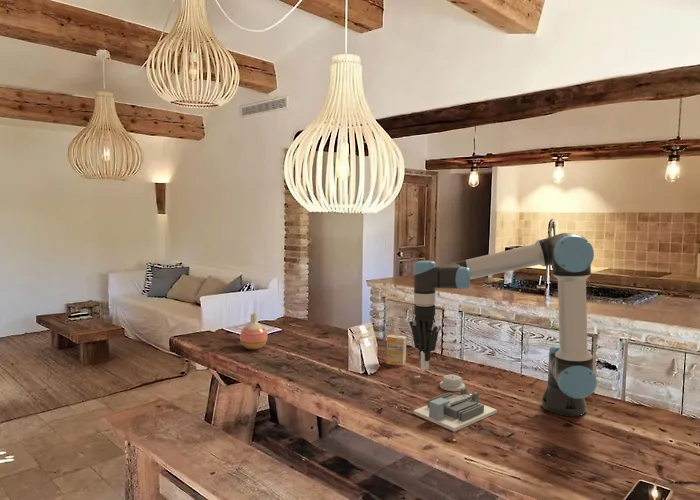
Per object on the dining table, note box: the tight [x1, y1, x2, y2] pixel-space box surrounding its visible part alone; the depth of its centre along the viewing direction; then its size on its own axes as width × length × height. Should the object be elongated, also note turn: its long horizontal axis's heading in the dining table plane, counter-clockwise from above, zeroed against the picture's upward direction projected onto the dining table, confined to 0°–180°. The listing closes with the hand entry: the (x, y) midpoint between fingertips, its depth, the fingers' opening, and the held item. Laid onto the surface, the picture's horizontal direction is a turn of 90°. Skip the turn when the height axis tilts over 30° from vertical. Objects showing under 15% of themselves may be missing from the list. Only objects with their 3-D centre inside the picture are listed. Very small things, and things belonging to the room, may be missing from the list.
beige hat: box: [439, 373, 466, 392], centre depth 205 cm, size 10×4×10 cm
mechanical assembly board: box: [413, 387, 498, 433], centre depth 179 cm, size 18×24×6 cm
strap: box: [444, 392, 473, 409], centre depth 179 cm, size 5×17×1 cm, turn 130°
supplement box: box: [385, 334, 408, 367], centre depth 233 cm, size 8×5×13 cm, turn 68°
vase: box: [239, 312, 268, 351], centre depth 255 cm, size 14×14×18 cm
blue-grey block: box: [429, 397, 450, 420], centre depth 174 cm, size 4×6×5 cm
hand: (424, 369), depth 182 cm, fingers closed
